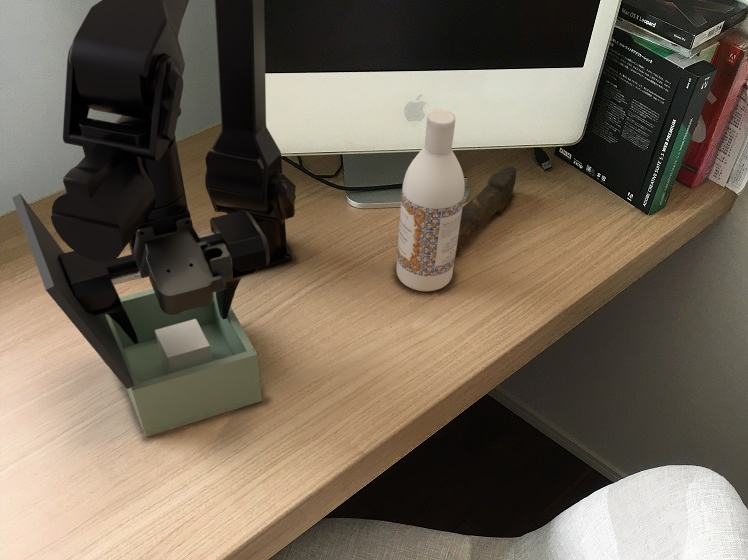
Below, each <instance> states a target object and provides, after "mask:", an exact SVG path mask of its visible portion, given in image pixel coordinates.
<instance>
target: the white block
mask: <svg viewBox="0 0 748 560" xmlns="http://www.w3.org/2000/svg"><path fill="white" fill-rule="evenodd" d="M155 334H156V338H157V342H158V346H159V350H160V354H161V358H162V362H163V364H164V366H165V368H166V371H167V373H168V374H171V373H175V372H178V371H182V370H185V369H189V368H192V367H195V366H199V365H202V364H206V363H209V362H213V360H212V355H211V349H210V345H209V343H208V341H207V339H206V337H205V335H204V333H203V331H202V329H201V327H200V325H199V324H198V322H197V320H196V319H193V320H190V321H186V322H182V323H179V324H175V325H172V326H168V327H164V328H161V329H157V330H155Z"/></svg>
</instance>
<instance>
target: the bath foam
mask: <svg viewBox="0 0 748 560" xmlns="http://www.w3.org/2000/svg"><path fill="white" fill-rule="evenodd" d="M455 125H456V115H455V114H454V113H453V111H450V110H448V109H443V108H438V109H437V108H436V109H433V110H431V111H429V112H428V114H427V116H426V126H425V136H424V137H425V138H424V147H423V148H422V149H421V150H420V151H419V152H418V153H417V154H416V156H415V157H414V158H413V159H412V161H411V162H410V164H409V166H408V167H407V169H406V172H405V175H404V177H403V182H402V187H401V199H400V201H401V202H400V212H399V225H398V226H399V227H398V238H397V239H398V240H397V241H398V242H397V254H396V269H395V270H396V276H397V278H398V280H399V281H400V282H401V283H402V284H403V285H404V286H405V287H407V288H410V289H412V290H415V291H417V292H419V291H420V292H432V291H437V290H440V289H442V288H445V287H446V286H447V285H448V284H449V283H450V282H451V280H452V277H453V274H454V266H455V260H456V254H457V253H456V248H457V241H458V234H459V227H460V221H461V214H462V207H463V206H464V200H465V176H464V172H463V169H462V167H461V164H460V163H459V160H458V159H457V156H456V154H455V153H454V151H453V142H454V136H455V128H456V126H455Z"/></svg>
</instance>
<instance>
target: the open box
mask: <svg viewBox="0 0 748 560" xmlns="http://www.w3.org/2000/svg"><path fill="white" fill-rule="evenodd" d="M119 297H120V299H121V301H122V304H123V306H124V308H125V310H126V312H127V314H128V316H129V319H130V321H131V323H132V325H133V327H134V330H135V332H136V334H137V338H138V343H137V344H134V343H133V341H132V340H131V339H130V338H129V337H128V335H127V334H126V333H125V332H124V331H123V329H122V328H121V327H120V326H119V325H118V323H117V322H116V321H115V320H114V319H112V318H111V317H110V316H109V315H107V314H105V315H106V318H107V320H108V323H109V325H110V327H111V330H112V332H113V335H114V337H115V340H116V342H117V344H118V347H119V349H120V352H121V354H122V356H123V359H124V361H125V364H126V366H127V368H128V371H129V373H130V376H131V378H132V380H133V383H134V386H133V387H131V388H129V389H127V388H126V387H125V389H126V392H127V394H128V396H129V399H130V401H131V404H132V406H133V408H134V411H135V413H136V416H137V418H138V420H139V423H140V425H141V428H142V431H143V434H144V436H145V438H148V437H151V436H155V435H159V434H162V433H165V432H168V431H170V430H173V429H177V428H181V427H183V426H187V425H190V424H193V423H196V422H200V421H202V420H205V419H209V418H212V417H215V416H219V415H222V414H225V413H228V412H232V411H234V410H235V411H236V410H237V409H238V410H239V409H241V408H244V407H247V406H251V405H254V404H257V403H260V402H262V401H263V393H262V385H261V377H260V376H261V375H260V368H259V358H258V353H257V352H256V350H255V348H254V346H253V344H252V342H251V341H250V339H249V337H248V335H247V333H246V331H245V330H244V328H243V326H242V324H241V322H240V321H239V319H238V317H237V315H236V313H235V311H234V310H233V308H232V305H231V306H230V309H229V313H228V316H227V319H224V320H223V319H222V317H221V315H220V313H219V309H218V304H217V300H216V292H214V298H213V302H212V303H211V304H210V305H208V306H206V307H197V308H194V309H190V310H186V311H183V312H181V313H180V314H176V315H168V314H166V313H164V312H163V311H162V310H161V308H160V305H159V302H158V300H157V297H156V295H155V292H154V290H153V288H150V289H146V290H142V291H138V292H135V293H130V294H127V295H123V296H119ZM193 319H196V320H197V322H198V324H199V325H200V327H201V329H202V331H203V333H204V335H205V337H206V339H207V341H208V343H209V345H210V349H211V355H212V360H213V362H209V363H206V364H202V365H199V366H195V367H192V368H189V369H185V370H182V371H178V372H175V373H171V374H168V373H167V371H166V368H165V366H164V364H163V362H162V358H161V354H160V350H159V346H158V342H157V338H156V334H155V330H157V329H161V328H164V327H168V326H172V325H175V324H179V323H182V322H186V321H190V320H193Z"/></svg>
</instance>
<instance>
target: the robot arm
mask: <svg viewBox="0 0 748 560" xmlns="http://www.w3.org/2000/svg"><path fill="white" fill-rule="evenodd" d="M189 1H190V0H100V1H98V2H97V3H95V4H93V6H92V7H90V8H89V10H88V12H87V14H86V15H85V17H84V18H83V21H82V23H81V24H80V26H79V28H78V29H77V31H76V34H75V35H74V37H73V39H72V43H71V44H70V47H69V49H68V53H67V58H66V75H65V76H66V77H65V91H64V92H65V94H64V107H63V109H64V111H63V126H62V127H63V128H62V141H63V143H64V144H68V145H73V146H77V147H82V151H83V154H84V157H83V158H82V159H81V160H80V161H79V162H78V164H77V165H75V166H74V167H72V168H70V169H69V171H68V172H66V174H65V175H64V176H63V178H62V183H63V186H64V189H63V191H62V192H61V193H60V194H59V195H58V196H57V198H55V200H54V201H53V204H52V206H51V215H50V220H51V223H52V226H53V228H54V230H55V232H56V233H57V235H58V236H59V238H60V239H61V240H62V241H63V243H65V244H66V245H67V246H68V247H69V248H70V249H71V251H68V252H64V253H63V254H59V256H58V260H59V263H60V265H61V268H62V270H63V273H64V275H65V278H66V280H67V283H68V286H69V287H70V289H71V291H72V293H73V294H74V296H75V298H76V299H77V301H78V302H79V303H80V304H81V306H82V307H83V308H84V310H85V311H86V312H87V313H88V312H90V313H91V314H93V315H100V314H107V315H109V316H110V317H111V318H112V319H114V320H115V321H116V322H117V323H118V325H119V326H120V327H121V328H122V329H123V331H124V332H125V333H126V334H127V335H128V337H129V338H130V339H131V340H132V341H133V343H134V344H137V343H138V338H137V334H136V332H135V330H134V327H133V325H132V323H131V321H130V319H129V316H128V314H127V312H126V310H125V308H124V306H123V304H122V301H121V299H120V297H121V296H120V295H119V293H118V291H117V289H116V287H115V285H119V284H123V283H127V282H131V281H134V280H138V279H139V280H140V279H145V278H148V280H149V282H150V285H151V288H152V289H153V290H154V292H155V295H156V297H157V300H158V302H159V305H160V308H161V310H162V311H163V312H164V313H166V314H168V315H176V314H180V313H181V312H183V311H186V310H190V309H194V308H197V307H206V306H208V305H210V304H211V303H212V302H213V298H214V292H216V300H217V304H218V309H219V313H220V315H221V317H222V319H223V320H224V319H227V316H228V313H229V309H230V306H231V307H232V304H233V300H234V297H235V293H236V291H237V288H238V286H239V284H240V282H241V281H242V279H244V278H247V277H249V276H252V275H255V274H256V273H257V271H258V270H259V269H263V268H267V267H271V266H274V265H278V264H281V263H286V262H290V261H292V260H293V254H292V253H291V251H290V249H289V248H288V245H287V229H286V227H287V226H286V220H288V219H291V218H294V217H295V215H296V208H295V202H296V199H297V195H296V184H295V183H293V181H291V180H290V178H288V177H287V176H286V175H285V174H284V173H283V161H282V160H283V159H282V152H281V150H280V148H279V146H278V144H277V143H276V141H275V139H274V137H273V136H272V133H271V132H270V131H269V128H267V98H266V97H267V94H266V93H267V92H266V91H267V89H266V87H267V85H266V37H265V36H266V34H265V33H266V32H265V31H266V28H265V27H266V26H265V0H214V17H215V33H216V34H215V35H216V37H215V38H216V52H217V53H216V55H217V70H218V73H217V74H218V88H219V89H218V91H219V106H220V107H219V108H220V126H221V127H220V129H221V130H220V133H219V134H218V136H217V137H216V139H215V142H214V143H213V145H212V147H211V149H210V150H208V152H207V153H206V156H205V159H204V160H205V167H206V171H205V175H204V176H205V178H204V183H205V189H206V192H207V195H208V197H209V199H210V202H211V205H212V207H213V210H214V212H216V213H224V214H222V215H219V216H214V217H211V218H210V220H209V225H210V231H211V232H209V233H206V234H201V235H199V234H198V233H197V231H196V229H195V228H194V225H193V224H194V223H193V220H192V217H191V212H190V210H189V207H188V201H187V195H186V188H185V185H184V180H183V172H182V169H181V161H180V156H179V150H178V145H177V139H176V129H177V124H178V118H179V117H180V116H181V114H182V108H181V101H182V96H183V90H184V78H183V75H184V73H185V72H184V71H185V67H186V62H185V59H184V56H183V52H182V49H181V45H180V41H179V34H180V31H181V30H180V29H181V26H182V22H183V19H184V18H185V17H184V16H185V14H186V11H187V8H188V5H189V3H190V2H189ZM90 110H93V111H97V112H102V113H108V114H112V115H118V116H119V117H118V118H117V119H116V120H115V121H114V122H111V121H106V120H101V119H96V118H91V117H88V116H89V112H90ZM128 245H129V249H130V254H127V255H123V256H120V255H121V254H122V253H123V251H124V250H125V249H126V247H127V246H128Z"/></svg>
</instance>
